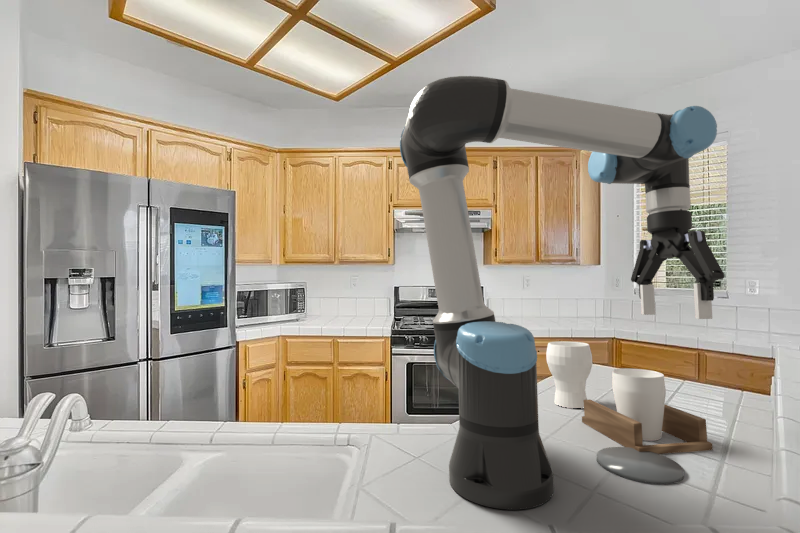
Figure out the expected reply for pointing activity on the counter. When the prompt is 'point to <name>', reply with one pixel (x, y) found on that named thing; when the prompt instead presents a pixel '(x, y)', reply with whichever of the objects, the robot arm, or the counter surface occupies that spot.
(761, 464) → the counter surface
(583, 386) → the cup
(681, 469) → the trivet
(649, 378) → the cup
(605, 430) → the cradle
